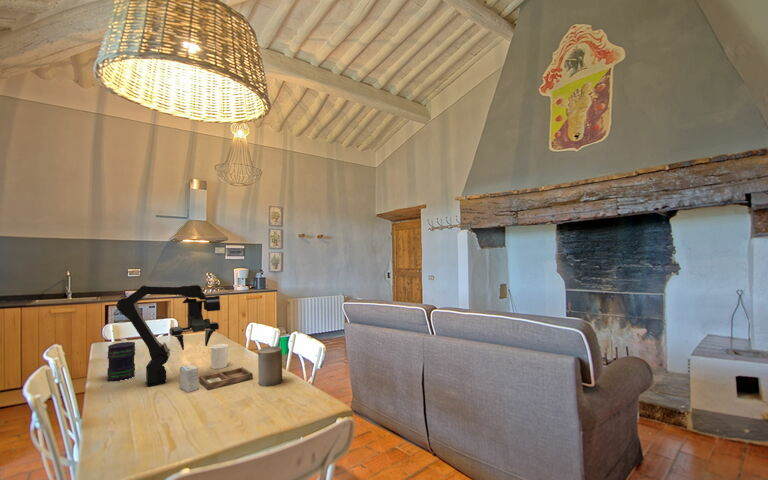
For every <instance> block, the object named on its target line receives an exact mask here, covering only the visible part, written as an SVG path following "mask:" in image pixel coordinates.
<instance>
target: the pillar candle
mask: <svg viewBox="0 0 768 480" xmlns="http://www.w3.org/2000/svg"><path fill="white" fill-rule="evenodd" d="M257 355H258V357H257V358H258V363H257V364H258V365H257V366H258V370H257V371H258V372H257V374H258V376H257V377H258V385H260V386H262V387H270V386H271V387H272V386H276V385H278V384H281V383H282V382H283V348H282V347H281V346H272V345H271V346H266V347H261V348H259V349H258V350H257Z"/></svg>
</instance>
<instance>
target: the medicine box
mask: <svg viewBox="0 0 768 480" xmlns="http://www.w3.org/2000/svg"><path fill="white" fill-rule="evenodd" d="M199 384H200V383H199V368H198V367H197V366H195V365H193V364H186V365H183V366H180V367H179V389H181V390H182V391H184V392H186V393H191V392H194V391H197V390H199V388H200V386H199Z"/></svg>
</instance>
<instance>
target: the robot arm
mask: <svg viewBox="0 0 768 480" xmlns="http://www.w3.org/2000/svg"><path fill="white" fill-rule="evenodd" d="M147 295H153V296H154V295H155V296H156V295H159V296H160V295H162V296H163V295H164V296H165V295H166V296H168V295H169V296H173V295H174V296H182V297H186V298H185V299H184V300H183V301H182V304H187V315H186V317H187V325H186V326H187V327H182V326H172V327H170V328H169V335H170V336H172V337H175V338H176V339H177V340H178V341H177V342H178V343H179V346H180V348H181V349H182V351H184V349H185V345H184V344H185V343H184V335H183V333H186V332H193V333H197V332H198V333H199V332H204V331H205V332H204V334H205V335H204V346H205V347H208V344H209V341H210V339H211V336H212V335H213V333H215V332H216V330H219V329H220V325H219V322H215V321H211V319H210V318H204V317H203V310H205V311H206V312H219V311H221V302H220V301H221V299H220V298H221V297H220V295H214V296H213V295H212V296H207V295H206V294H205V293H204V291H203V287H202V286H201V284H198V283H191V284H185V285H179V286H178V285H150V284H144V285H142V286H140V288H138V289H137V290H136V291H134V292H132V294H129V296H126V297H123V298H121V299H119V300H118V301H117V303H116V306H115V307H116V309H117V311H119V312H120V314H122V315H123V316H124V317H125V318H126V319H128V320H129V321H130V323H131V325H133V327H134V329H135V330H136V332H137V333H138V335H139V336H140V338H141V339H142V341H143V342H144V344H145V345H146V347H147V349H148V353H149V357H150V360H149V361H148V363H147V364H146V366H145V369H146V371H145V372H146V373H145V376H146V378H145V382H144V383H145V385H146V386H147V387H151V386H156V385H162V384H165V383H167V382H166V380H167V370H166V366H165V364H167V362H168V361H169V358H170V356H171V352H170V351H171V349H170V348H169V347H168V345H167V343H166V342H163V343H161V342H160V341H158V339H157V337H156V336H155V334H154V333H153V331H152V330H151V328H150V326H149V325H148V324H147V322H146V320H145V319H144V317H143V316H142V315H141V314H142V313H141V310H140V307H139V305H138V303H139V302H140V301H141V300H142V299H143V298H145V297H146V296H147Z"/></svg>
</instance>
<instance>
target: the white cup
mask: <svg viewBox="0 0 768 480" xmlns="http://www.w3.org/2000/svg"><path fill="white" fill-rule="evenodd" d="M209 349H210V362H211V369H213V370H220V369H224V368H226V367H228V358H229V344H228V343H218V344H214V345H211V346H210V348H209Z"/></svg>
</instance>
